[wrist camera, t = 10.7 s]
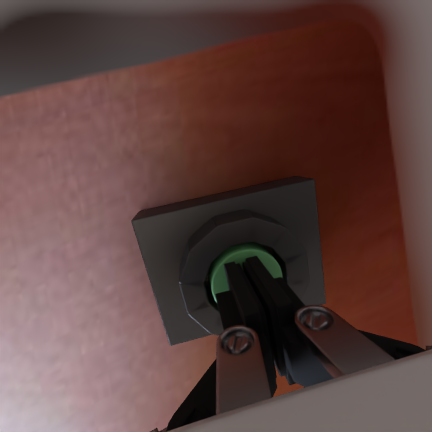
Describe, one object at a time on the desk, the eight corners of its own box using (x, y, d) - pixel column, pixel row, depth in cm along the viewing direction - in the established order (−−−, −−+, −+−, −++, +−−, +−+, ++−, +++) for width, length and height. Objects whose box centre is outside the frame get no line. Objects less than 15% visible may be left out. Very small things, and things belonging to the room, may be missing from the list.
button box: (296, 175, 15) (335, 181, 11) (308, 285, 17) (345, 323, 13) (138, 211, 14) (121, 231, 10) (171, 321, 16) (167, 373, 12)
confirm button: (265, 230, 13) (278, 242, 11) (274, 287, 14) (287, 305, 12) (201, 246, 13) (204, 259, 11) (215, 303, 14) (219, 324, 12)
